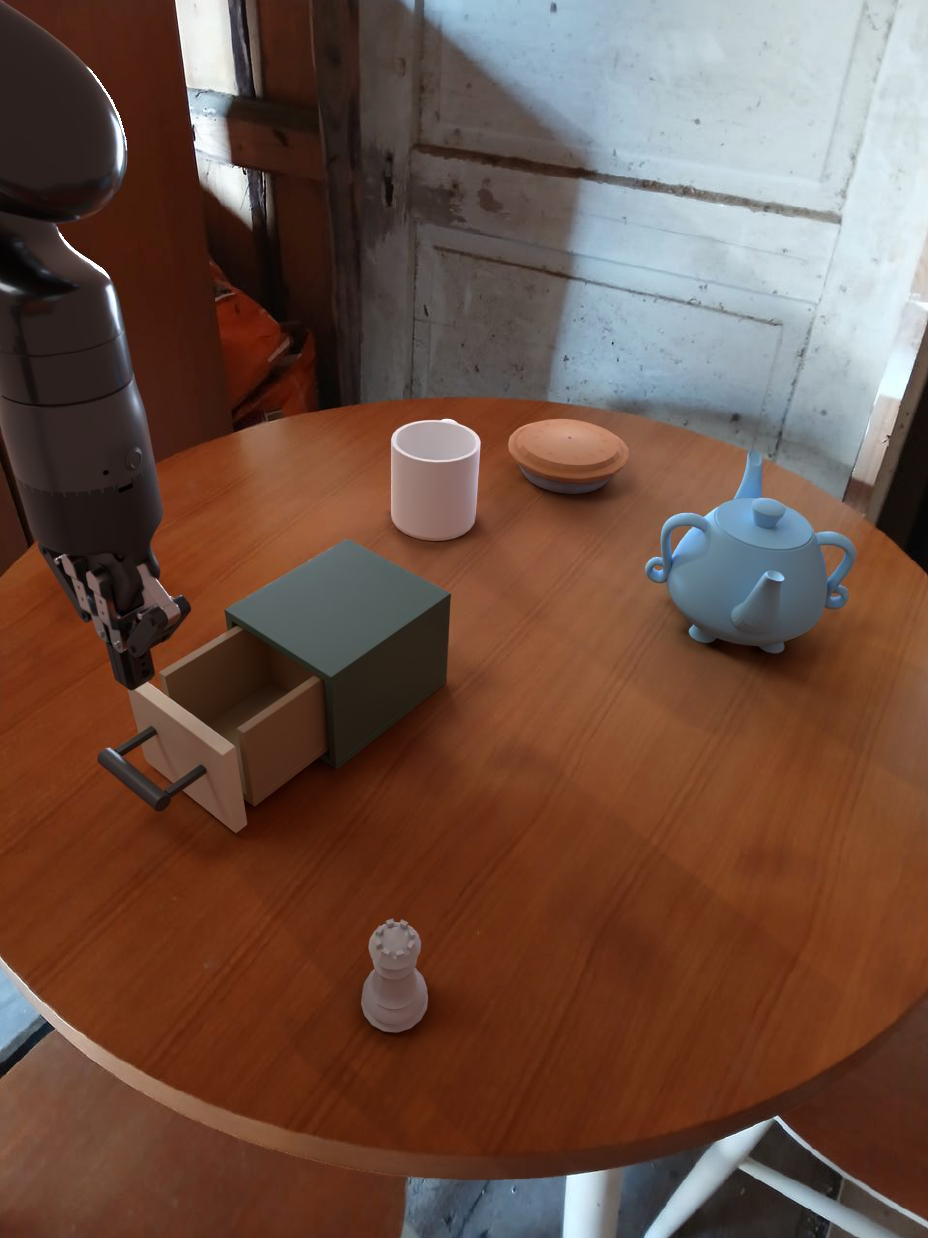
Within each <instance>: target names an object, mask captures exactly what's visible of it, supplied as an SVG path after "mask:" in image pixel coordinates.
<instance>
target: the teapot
mask: <svg viewBox="0 0 928 1238" xmlns="http://www.w3.org/2000/svg"><path fill="white" fill-rule="evenodd" d="M763 469H764V460H763V456H762V454H761V452H760V451H759V450H758V449H755V448H752V449H750V450H749V451H748V453H747V457H746V465H745V471H744V475H743V477H742V480H741V483H740V485H739V487H738V489H737V492H736V493H735V494H734V495H735V496H734V497H733V499H731V500H728V501H725V502H723V503H721V504H720V505H718V506H717V507H715V508H714V509H712V510H711V511H710V512H708V513H707V514H706V515H705V516H702V515H700V514H697V513H694V512H682V513H677V514H674V515H673V516H670V517H669V518H668V519H667V520H666V521H665V522H664V524H663V526H662V528H661V532H660V541H659V542H660V552H661V557H659V556H654V557H652V558H650V559H649V560H648V561H647V562H646V564H645V567H644V573H645V575H646V577H647V578H648V579H649V580H650V581H652V582H653V583H655V584H664V583H666V587H667V592H668V594H669V597H670V598H671V600H672V602H673V603H674V605H675V606H676V608H677V609H678V610H679V612H680V613H681V614H682V615H683V616H684V618H686V620H687V621H688V622H690V623H691V624H692V626H690V628H689V629H688V634H689V637H691V638H692V639H693V640H695V641H696V642H698V643H704V644H709V643H713V642H714V641H716V639H719V640H722V641H725V642H728V643H731V644H737V645H742V646H751V647H752V646H753V647H758V648H759V649H761V650H763V651H764V652H766V653H771V654H779V653H782V652H783V651H784V650H785V643H786V642H788V641H791V640H793V639H796V638H798V637H801V636H803V635H804V634H806V633H807V632H809V631H811V629H812V628H813V627H815V626H816V625H817V624H818V623H819V621H820V619H821V618H822V615H823V613H824V610H825V609H828V610H838V609H841V608H844V607H845V606H846V605H847V603H848V602H849V598H850V593H849V590H848V588H847V587H846V586H844V585H841V583H843V581H844V580H845V579H846V577H848V575H849V573H850V572H851V570H852V569H853V567H854V565H855V562H856V559H857V551H856V547H855V544H854V543H853V542H852V541H851V540H850V539H849V537H846V536H845V535H844V534H841V533H840V532H835V531H818V532H817V533H816V532H815V530H814V528H813V526H812V525H811V523H810V522H809V520H807V519H806V517H804V516H803V514H801V513H800V512H798V511H796V510H795V509H793V508H792V507H790V506H787V505H785V504H783V503H782V502H781V501H778V500H776V499H774V498H768V497H763V472H764V471H763ZM679 527H691V528H690V529H689V530H688V531H687V532H686V533H685V535H684V536H682V539H681V540H680V541H679V543H678V544H677V546H676V548H675V549H674V551H673V552H672V545H671V539H672V538H671V537H672V533H673V531H674V530H675V529H677V528H679ZM821 546H834V547H837V548H839V549H842V550H843V551H844V555H843V558H842V560H841V561H840V563H839V564H838V566H837V567H836V568H835V570H834V571H833V572H832V574H831V575H830V576H829V577H828V571H827V565H826V561H825V558H824V557H825V556H824V554H823V551H822V549H821ZM657 566H660V567H662V569H661V570H658V569H656V568H655V567H657ZM832 594H835V595H836V596H832ZM837 595H838V596H837Z"/></svg>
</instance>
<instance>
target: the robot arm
mask: <svg viewBox="0 0 928 1238" xmlns="http://www.w3.org/2000/svg"><path fill="white" fill-rule="evenodd" d="M127 163H128V148H127V140H126V136H125V132H124V128H123V125H122V121H121V118H120V115H119V112H118V111H117V109H116V107H115V104H114V102H113V99H111V97H110V95H109V94H108V92H107V91H106V89H105V88H104V86H103V85H102V83H101V82H100V80H99V79H98V78H97V76H96V75H95V74H94V73H93V71H92V70H91V69H90V68H89V67H88V65H86V64H85V62H84V61H83V60H81V59H80V58H79V56H77V55H76V54H75V52H73V51H72V50H71V49H70V48H69V47H68V46H66V45H65V44H64V43H63V42H62V41H60V40H59V39H58V38H56V37H55V36H54V35H52V34H51V33H50V32H49V31H48V30H46V29H45V28H43V27H42V26H40V25H39V24H38V23H36V22H35V21H34V20H32V19H30V18H29V17H27V16H26V15H24V14H23V13H22V12H20V11H19V10H17V9H15V8H14V7H13V6H11V5H9V4H8V3H7V2H5V1H4V0H0V430H1V434H2V438H3V441H4V445H5V449H6V451H7V454H8V458H9V463H10V465H11V468H12V472H13V476H14V479H15V483H16V487H17V489H18V493H19V496H20V499H21V503H22V506H23V509H24V513H25V516H26V520H27V523H28V527H29V530H30V532H31V535H32V536H33V538H34V539H35V540H36V541H37V548H38V551H39V553H40V555H41V556H42V557H43V559H44V561H45V563H46V564H47V565H48V567H49V569H50V570H51V572H52V573H53V575H54V577H55V579H56V580H57V582H58V583H59V585H60V587H61V588H62V590H63V591H64V593H65V595H66V597H67V598H68V600H69V601H70V603H71V604H72V606H73V608H74V610H75V611H76V613H77V615H78V617H79V618H80V619H81V620H82V622H84V623H85V624H88V623H91V622H92V623H93V626H94V630H95V633H96V635H97V637H98V638H99V639H100V641H102V642H104V643H105V647H106V650H107V653H108V657H109V663H110V666H111V669H112V674H113V677H114V680H115V682H117V683H119V684H120V685H122V686H123V687H124V688H126V690H127V689H129V690H135V689H137V688H138V687H140V686H141V685H143V684H145V683H146V682H150V681H151V680H153V678H154V677H155V675H156V668H155V665H154V661H153V655H152V651H151V649H153V648H155V647H156V646H158V645H159V644H163V643H165V642H166V641H168V640H169V639H171V637H172V636H173V635H174V633H175V632H176V631H177V630H178V628H179V627H180V626H181V625H182V624H183V622H184V621H185V620H186V619H187V617H188V616H189V614H190V613H191V612H192V606H191V603H190V602H189V599H187V598H186V596H184V595H183V594H179V595H177V596H176V597H173V596H172V595H169V593H168V592H167V591H166V590H165V589H164V587H163V586H162V584H161V583H160V582H159V579H160V577H161V566H160V563H159V561H158V559H157V557H156V555H155V553H154V550H153V547H152V546H151V543H152V540H153V537H154V535H155V533H156V531H157V530H158V528H159V527H160V524H161V523H162V520H163V517H164V505H163V500H162V495H161V489H160V484H159V477H158V472H157V467H156V466H157V465H156V461H155V456H154V450H153V445H152V440H151V434H150V433H151V432H150V428H149V424H148V418H147V413H146V409H145V405H144V402H143V399H142V396H141V393H140V391H139V388H138V384H137V381H136V377H135V373H134V367H133V362H132V357H131V352H130V347H129V346H130V345H129V340H128V336H127V335H128V334H127V330H126V324H125V319H124V314H123V310H122V305H121V300H120V297H119V295H118V292H117V291H118V290H117V288H116V286H115V283H114V282H113V280H112V278H111V276H109V274H108V272H106V271H105V270H104V269H103V268H102V267H100V266H99V265H98V264H96V263H95V262H93V261H92V260H90V259H89V258H87V257H86V256H84V255H83V254H81V253H80V252H79V251H77V250H75V249H74V247H72V246H71V245H70V244H69V243H68V242H67V241H66V240H65V239H64V236H62V234H61V232H60V230H59V228H58V226H57V224H70V223H76V222H81V221H84V220H87V219H90V218H92V217H95V216H96V215H97V214H99V213H101V212H102V211H103V210H104V209H106V208H107V207H108V206H109V205H110V204H111V203H112V202H113V200H114V198H115V197H116V196H117V195H118V193H119V191H120V189H121V188H122V185H123V183H124V179H125V176H126V172H127V166H128V164H127Z"/></svg>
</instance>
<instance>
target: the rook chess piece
mask: <svg viewBox="0 0 928 1238" xmlns="http://www.w3.org/2000/svg"><path fill="white" fill-rule="evenodd" d="M421 948H422V941H421V938H420V935H419V933H418V932H417V930H415V929H414V927H412V926H411V925H409V922H408V921H407V920H404V919H400V921H399V922H396V921H395V920H394V918H390V919H387V920H385V923H384V924H382V925H380V924H379V925H378V927H376V929H375V930H374V931H373V933H372V934H371V936H370V938H369V942H368V948H367V949H368V952H369V955H370V959H372V960H371V962H372V964H373V968H374V969H372V970H371V971H370V973H369V975H368V976H367V977H366V979H365V981H364V983H363V986H362V993H361V1001H360V1005H361V1008H362V1012H363V1015H364V1017H365V1018H366V1020H367V1021H368V1022H369V1023H370V1025H371V1026H373V1027H375V1028H377V1029H379V1030H380V1031H382V1032H386V1033H401V1032H404V1031H407V1030H410V1029H412V1028H413V1027H415V1026H416V1025H417V1024H419V1022H420V1021H421V1020H422V1019H423V1016H424V1015H425V1013H426V1011H427V1010H428V1003H429V995H428V987H427V984H426V981H425V978H424V976H423V975H422V974H421V972H420V971H419V970H418V969H417V968H416V966H417V963H418V962H417V961H418V957H419V956H420V954H421V950H422V949H421Z"/></svg>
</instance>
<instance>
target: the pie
mask: <svg viewBox="0 0 928 1238" xmlns="http://www.w3.org/2000/svg"><path fill="white" fill-rule="evenodd" d="M507 443H508V444H507V446H508V450H509V455H510V456H511V457H512V458H513V459H514V461H515V462H516V463H517V465H518V467H519V469H520V470H521V473H522V475H523V476H524V477H525V478H526V479H527V480H528V481H529V482H530V483H532V484H534V485H535V486H536V487H539V488H541V489H544V490H545V491H548V492H552V493H553V492H554V493H558V494H567V495H577V494H578V495H579V494H587V493H590V492H594V491H597V490H598V489H600V488H602V487H604V486H605V485H606V484H607V483H608V482H609V481H610V480H611V479H612V478H613V477H614V476H615V474H617V473H619V472H620V471H621V470H622V469H623V468H624V467H625V465H626V464H627V462H628V461H629V454H630V450H629V448H628V447H627V445H626V443H625V442H624V441H623V440H622V439H621V438H620V437H619V436H617V435H616V434H614V433H613V432H611V431H609V430H608V429H606V428H604V427H601V426H599V425H596V424H593V423H590V422H587V421H584V420H583V421H582V420H579V419H578V420H577V419H573V418H572V419H571V418H554V419H553V418H551V419H543V420H539V421H535V422H531V423H528V424H527V423H526V424H525V425H522V426H520V427H518V428H516V430H515V431H514V432H513V433H512V434H511V435H510V436H509V439H508V442H507Z"/></svg>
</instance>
